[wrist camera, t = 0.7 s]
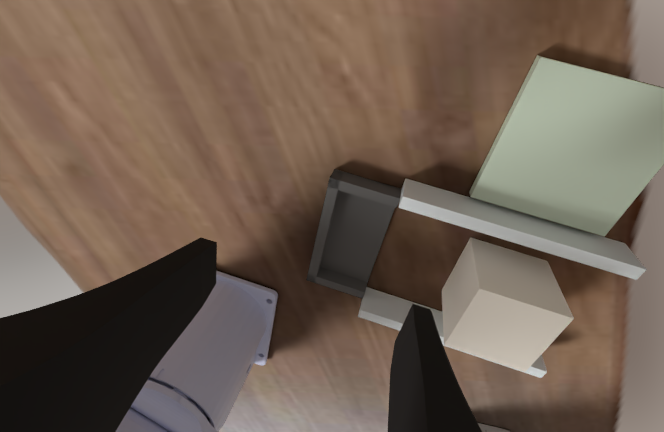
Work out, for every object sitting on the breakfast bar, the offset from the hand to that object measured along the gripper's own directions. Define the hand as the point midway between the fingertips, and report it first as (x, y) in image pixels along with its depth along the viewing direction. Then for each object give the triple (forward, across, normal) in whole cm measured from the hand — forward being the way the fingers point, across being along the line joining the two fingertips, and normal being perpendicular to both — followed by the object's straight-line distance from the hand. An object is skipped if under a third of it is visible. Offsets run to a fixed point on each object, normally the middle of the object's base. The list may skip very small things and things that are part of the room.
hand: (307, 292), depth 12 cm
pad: (+9, -10, -5) cm, 14 cm away
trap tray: (+10, -1, +4) cm, 10 cm away
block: (+10, -10, +4) cm, 14 cm away
